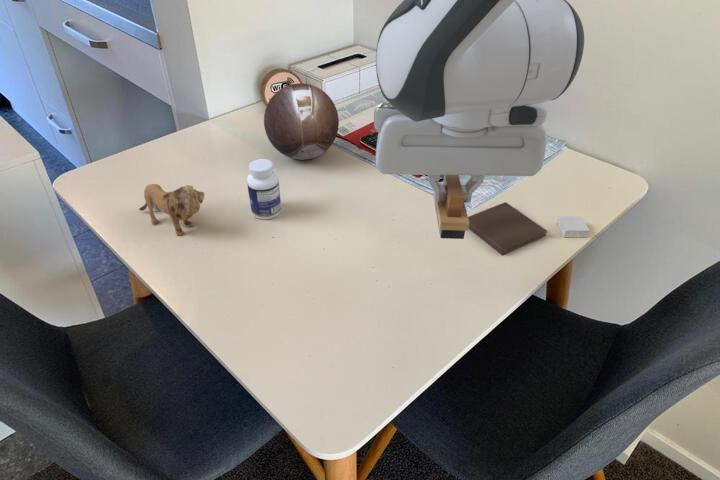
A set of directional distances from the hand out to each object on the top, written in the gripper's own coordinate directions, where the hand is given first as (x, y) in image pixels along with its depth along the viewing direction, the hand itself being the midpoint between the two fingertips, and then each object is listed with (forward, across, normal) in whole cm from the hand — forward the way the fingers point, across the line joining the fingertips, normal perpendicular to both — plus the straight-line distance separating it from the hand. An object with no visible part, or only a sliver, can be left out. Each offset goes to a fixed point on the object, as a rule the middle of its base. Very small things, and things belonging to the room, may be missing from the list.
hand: (451, 200), depth 68 cm
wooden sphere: (+16, -24, +41) cm, 50 cm away
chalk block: (+16, +25, +16) cm, 34 cm away
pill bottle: (+16, -29, +20) cm, 39 cm away
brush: (+3, 0, 0) cm, 3 cm away
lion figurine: (+16, -44, +16) cm, 50 cm away
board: (+16, +13, +16) cm, 26 cm away
